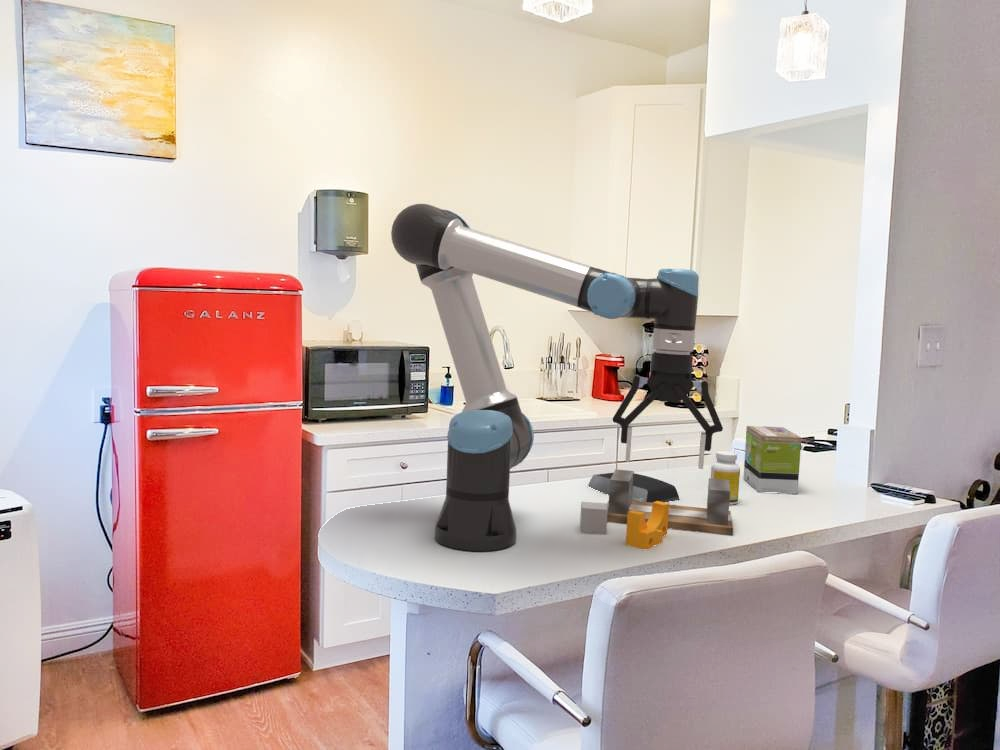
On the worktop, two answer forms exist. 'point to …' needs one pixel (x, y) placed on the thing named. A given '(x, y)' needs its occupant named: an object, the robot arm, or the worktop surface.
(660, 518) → the pipe clamp
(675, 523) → the rail board
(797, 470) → the tea box
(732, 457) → the pill bottle
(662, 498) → the dark piece
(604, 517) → the block
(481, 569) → the worktop surface
